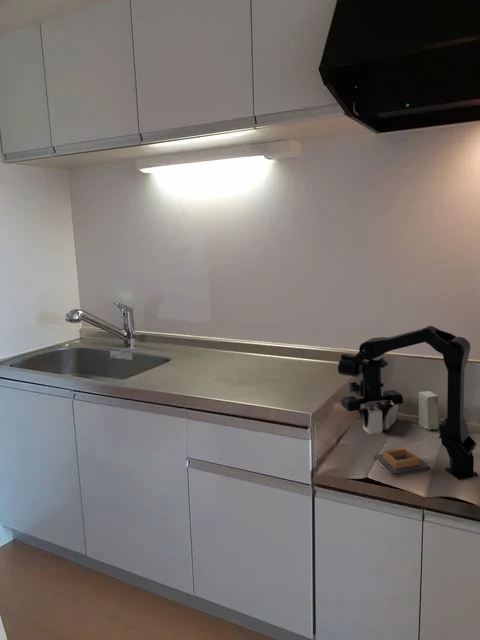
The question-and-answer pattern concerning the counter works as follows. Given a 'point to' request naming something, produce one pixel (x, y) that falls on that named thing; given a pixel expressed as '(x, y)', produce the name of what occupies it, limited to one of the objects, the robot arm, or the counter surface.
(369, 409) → the light gray block
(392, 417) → the tin
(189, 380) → the counter surface
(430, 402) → the skincare box
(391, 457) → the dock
